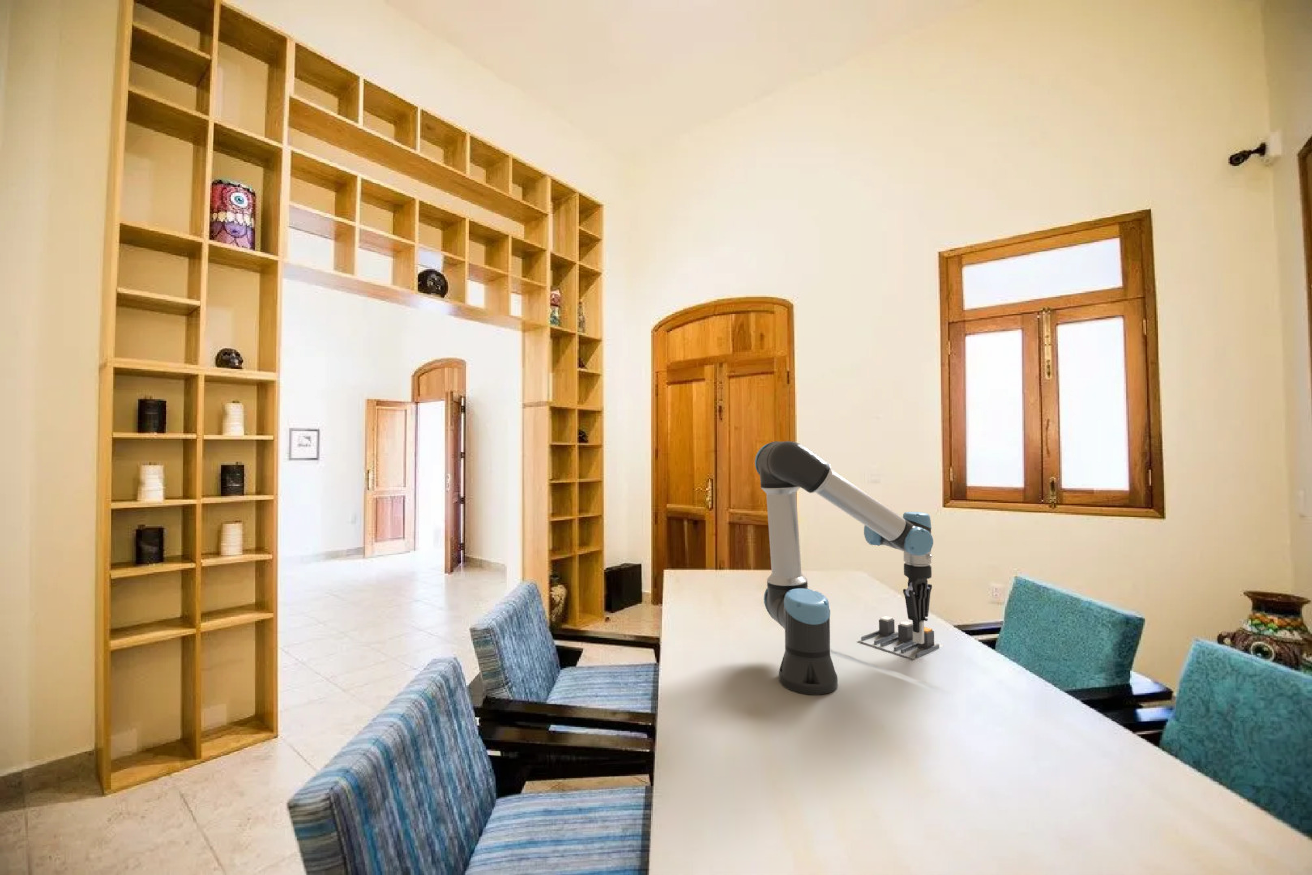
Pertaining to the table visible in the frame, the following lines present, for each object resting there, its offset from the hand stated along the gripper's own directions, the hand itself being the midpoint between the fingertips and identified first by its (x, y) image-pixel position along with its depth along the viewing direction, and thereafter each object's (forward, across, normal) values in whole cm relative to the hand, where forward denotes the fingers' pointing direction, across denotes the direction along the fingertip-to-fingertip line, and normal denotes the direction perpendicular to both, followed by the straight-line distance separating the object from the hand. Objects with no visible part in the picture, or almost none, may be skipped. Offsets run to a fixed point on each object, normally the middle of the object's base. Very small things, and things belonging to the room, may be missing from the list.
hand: (918, 642), depth 159 cm
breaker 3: (+2, +4, 0) cm, 5 cm away
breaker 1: (+2, +5, +13) cm, 14 cm away
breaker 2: (+2, +5, +6) cm, 8 cm away
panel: (+4, +1, +6) cm, 7 cm away
